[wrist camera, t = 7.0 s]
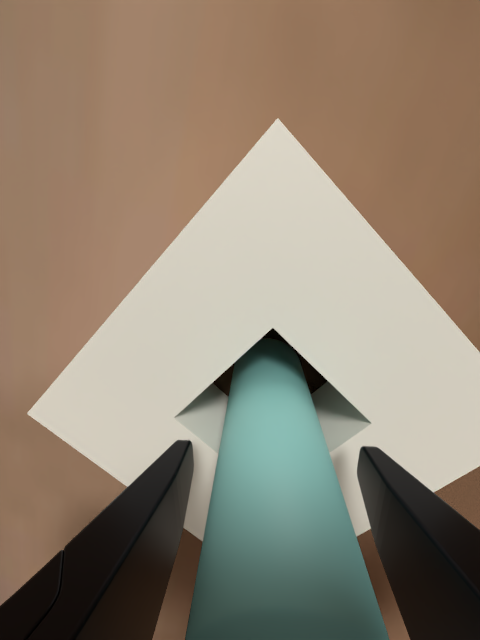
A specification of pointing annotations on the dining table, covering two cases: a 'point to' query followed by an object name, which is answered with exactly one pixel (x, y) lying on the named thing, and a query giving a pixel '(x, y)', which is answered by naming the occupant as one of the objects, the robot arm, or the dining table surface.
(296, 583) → the peg
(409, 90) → the dining table surface
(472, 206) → the dining table surface
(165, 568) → the robot arm
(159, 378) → the socket block
